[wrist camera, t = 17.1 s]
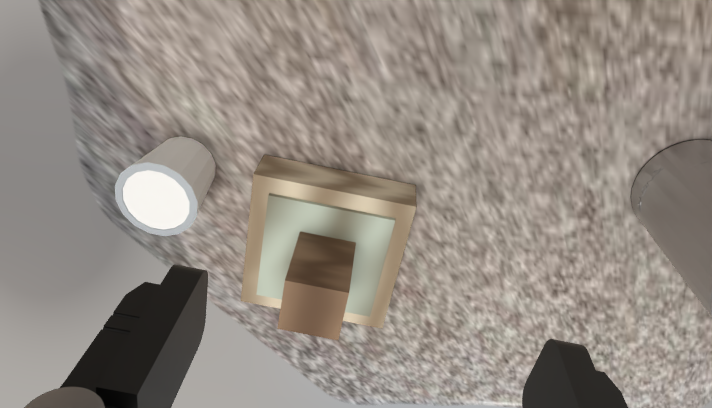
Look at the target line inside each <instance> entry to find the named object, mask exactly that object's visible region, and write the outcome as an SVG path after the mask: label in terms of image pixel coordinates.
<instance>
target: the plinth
mask: <svg viewBox="0 0 712 408" xmlns="http://www.w3.org/2000/svg"><path fill="white" fill-rule="evenodd" d="M416 207H417V205H416V185H412V184H407V183H402V182H397V181H392V180H387V179H382V178H377V177H372V176H368V175H363V174H358V173H353V172H348V171H343V170H338V169H333V168H328V167H323V166H318V165H313V164H308V163H303V162H298V161H293V160H288V159H283V158H278V157H273V156H268V155H264V156H263V158H262V160H261V161H260V163H259V165H258V167H257V169H256V171H255V172H254V174H253V184H252V194H251V204H250V214H249V224H248V234H247V244H246V253H245V263H244V273H243V283H242V293H241V301H244V302H249V303H254V304H259V305H264V306H269V307H275V308H280V309H281V302H282V296H283V289H284V283H285V278H286V275H287V272H288V269H289V265H290V262H291V259H292V256H293V252H294V249H295V246H296V243H297V240H298V236H299V233H300V231H301V232H306V233H311V234H316V235H321V236H326V237H331V238H336V239H341V240H346V241H351V242H356V246H355V254H354V261H353V268H352V276H351V283H350V290H349V296H348V300H347V304H346V309H345V313H344V317H343V321H347V322H352V323H357V324H362V325H367V326H372V327H377V328H382V327H383V324H384V320H385V317H386V313H387V310H388V306H389V303H390V299H391V296H392V292H393V289H394V285H395V281H396V278H397V274H398V271H399V267H400V264H401V260H402V257H403V253H404V250H405V246H406V243H407V239H408V236H409V232H410V228H411V225H412V221H413V218H414V214H415V211H416Z"/></svg>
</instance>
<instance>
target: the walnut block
mask: <svg viewBox="0 0 712 408" xmlns="http://www.w3.org/2000/svg"><path fill="white" fill-rule="evenodd" d="M355 246H356V242H351V241H346V240H341V239H336V238H331V237H326V236H321V235H316V234H311V233H306V232H301V231H300V233H299V236H298V240H297V243H296V246H295V249H294V252H293V256H292V259H291V262H290V265H289V269H288V272H287V275H286V278H285V283H284V289H283V296H282V302H281V309H280V316H279V322H278V329H282V330H288V331H293V332H298V333H303V334H308V335H313V336H319V337H324V338H329V339H334V340H338V339H339V335H340V330H341V326H342V322H343V317H344V313H345V309H346V304H347V300H348V296H349V290H350V283H351V276H352V268H353V261H354V254H355Z"/></svg>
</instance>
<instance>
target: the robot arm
mask: <svg viewBox="0 0 712 408" xmlns="http://www.w3.org/2000/svg"><path fill="white" fill-rule="evenodd" d="M631 202H632V208H633V210H634V212H635V215H636V216H637V217H638V219H639V220H640V221H641V223H642V224H643V225H644V227H645V228H646V229H647V231H648V232H649V233H650V235H651V236H652V238H653V239H654V241H655V242H656V243H657V245H658V246H659V247H660V249H661V250H662V251H663V253H664V254H665V255H666V257H667V258H668V259H669V261H670V262H671V263H672V265H673V266H674V267H675V269H676V270H677V272H678V273H679V274H680V276H681V277H682V278H683V280H684V281H685V282H686V284H687V285H688V286H689V288H690V289H691V290H692V292H693V293H694V294H695V296H696V297H697V298H698V300H699V301H700V302H701V304H702V305H703V306H704V308H705V309H706V310H707V312H708V313H709V314H710V316H711V317H712V140H692V141H686V142H682V143H679V144H676V145H674V146H671V147H669V148H667V149H665V150H664V151H662V152H660V153H659V154H657V155H656V156H655V157H653V158H652V159H651V160H650V161H649V162H648V163H647V164H646V165H645V166H644V167H643V168H642V170H641V171H640V173H639V174H638V176H637V177H636V179H635V182H634V185H633V187H632V194H631ZM207 285H208V272H207V271H206V270H201V269H196V268H191V267H186V266H181V265H176V264H175V265H173V266H172V267H171V269H170V270H169V272H168V273H167V275H166V276H165V278H164V280H163V281H162V283H161V284H160V285H159V284H153V283H148V282H144V283H143V284H141V285H140V286H138V287H137V288H135V289H134V290H132V291H131V292H129V293H128V294H126V295H125V297H124V298H123V299H122V301H121V302H120V304H119V305H118V307H117V308H116V310H115V311H114V314H113V316H111V317H110V318H109V319H108V321H107V322H106V324H105V325H104V328H103V330H101V331H100V332H99V334H98V335H97V336H96V338H95V339H94V341H93V342H92V343H91V345H90V346H89V348H88V349H87V351H86V352H85V353H84V355H83V356H82V358H81V359H80V361H79V362H78V363H77V365H76V366H75V368H74V369H73V370H72V372H71V373H70V375H69V376H68V378H67V379H66V380H65V382H64V383H63V384H62V386H61V387H60V388H58V389H54V390H52V391H49V392H46V393H44V394H42V395H40V396H38V397H37V398H35V399H34V400H32V401H31V402H30V403H29V404H27V405H26V406H25V407H24V408H171V406H172V404H173V402H174V399H175V397H176V395H177V393H178V391H179V389H180V386H181V384H182V382H183V380H184V378H185V375H186V373H187V371H188V369H189V367H190V365H191V362H192V360H193V358H194V356H195V354H196V351H197V349H198V347H199V344H200V342H201V339H202V335H203V331H204V326H205V318H206V302H207ZM522 406H523V408H628V407H627V404H626V402H625V400H624V398H623V395H622V393H621V391H620V390H619V389H618V388H617V387H616V386H615V384H614V383H613V382H612V381H611V380H610V379H609V377H608V376H607V375H606V374H605V373H604V372H600V371H596V370H595V367H594V365H593V363H592V360H591V358H590V355H589V353H588V351H587V349H586V348H585V347H584V346H583V345H579V344H574V343H569V342H564V341H559V340H554V339H550V340H548V341H547V342H546V343H545V345H544V347H543V349H542V351H541V353H540V355H539V357H538V359H537V361H536V363H535V365H534V367H533V369H532V371H531V373H530V375H529V377H528V379H527V381H526V383H525V386H524V390H523V398H522Z"/></svg>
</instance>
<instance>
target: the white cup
mask: <svg viewBox="0 0 712 408" xmlns="http://www.w3.org/2000/svg"><path fill="white" fill-rule="evenodd" d="M215 169H216V164H215V162H214V159H213V157H212V154H211V153H210V152H209V151H208V149H207V148H206V147H205V146H204V145H203V144H201V143H199V142H198V141H196V140H194V139H192V138H187V137H182V136H179V137H173V138H169V139H168V140H166V141H165V142H163V143H162V144H161V145H159V146H158V147H156V148H155V149H154V150H152V151H151V152H149V153H148V154H147V155H145V156H144V157H142V158H141V159H140V160H138V161H137V162H136V163H134V164H133V165H131V166H130V167H129V168H127V169H126V170H125V171H123V172H122V173H120V176H119V178H118V180H117V182H116V184H115V196H116V201H117V203H118V205H119V207H120V210H121V212H122V214H123V215H124V216H125V217H126V218H127V219H128V220H129V221H130V222H131V223H132V224H133V225H134V226H136V227H138V228H140V229H142V230H144V231H146V232H148V233H151V234H156V235H161V236H169V235H175V234H180V233H181V232H183V231H185V230H186V229H188V228H189V227H191V225H192V223H193V222H194V220H195V218H196V216H197V214H198V212H199V210H200V208H201V206H202V203H203V201H204V199H205V197H206V195H207V192H208V190H209V188H210V186H211V184H212V181H213V179H214V177H215Z"/></svg>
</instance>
